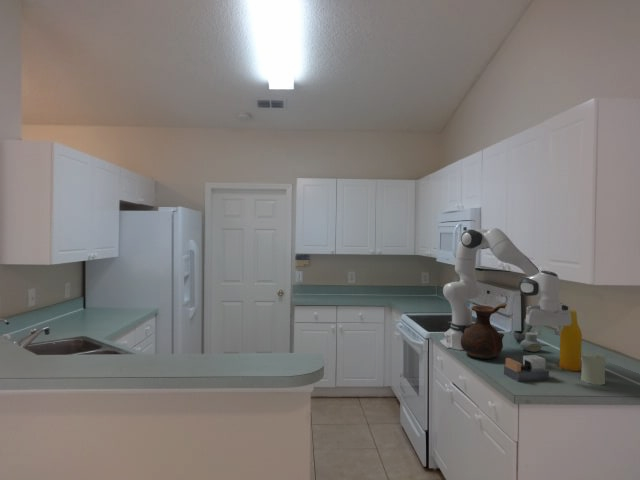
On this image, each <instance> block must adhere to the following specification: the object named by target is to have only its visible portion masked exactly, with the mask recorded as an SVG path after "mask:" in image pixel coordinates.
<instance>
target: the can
mask: <svg viewBox="0 0 640 480" xmlns="http://www.w3.org/2000/svg"><path fill="white" fill-rule="evenodd" d="M606 360H607V359H606V357H605V356H603V355H600V354H597V353H587V352H586V353H581V375H580V376H581V377H580V380H581V381H582V382H584V383H586V382H587V384H590V383H591V384H590V385H595V384H597V386H603V384H604V385H605V384H606Z"/></svg>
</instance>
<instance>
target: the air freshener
mask: <svg viewBox="0 0 640 480" xmlns="http://www.w3.org/2000/svg"><path fill="white" fill-rule="evenodd" d="M537 338H538V335H536V332H531V331H530V332H526V333H525V340H523V341H521V343H520V344H519V345H520V347H521V348H522V349H523V350H525V351H527V352H530V353H535V352H539V351H540V350H542V349H543V348H542V343H540V341H538V339H537Z"/></svg>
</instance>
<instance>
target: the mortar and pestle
mask: <svg viewBox="0 0 640 480" xmlns="http://www.w3.org/2000/svg"><path fill="white" fill-rule="evenodd" d="M532 328H534V327H533V326H532V325H528V324H527V326H526V328H525V329H524V330H514V331H512V334H513V337H514V339H515V341H516V342H515V343H516V344H517V345H520V343H521V341H523V340H525V333H526V332H531V330H532Z"/></svg>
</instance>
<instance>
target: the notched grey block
mask: <svg viewBox="0 0 640 480" xmlns="http://www.w3.org/2000/svg"><path fill="white" fill-rule="evenodd" d="M525 364H531V370H545V369H546V358H545V357H542V356H539V355H537V354H528V355H523V356H522V365H525Z"/></svg>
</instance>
